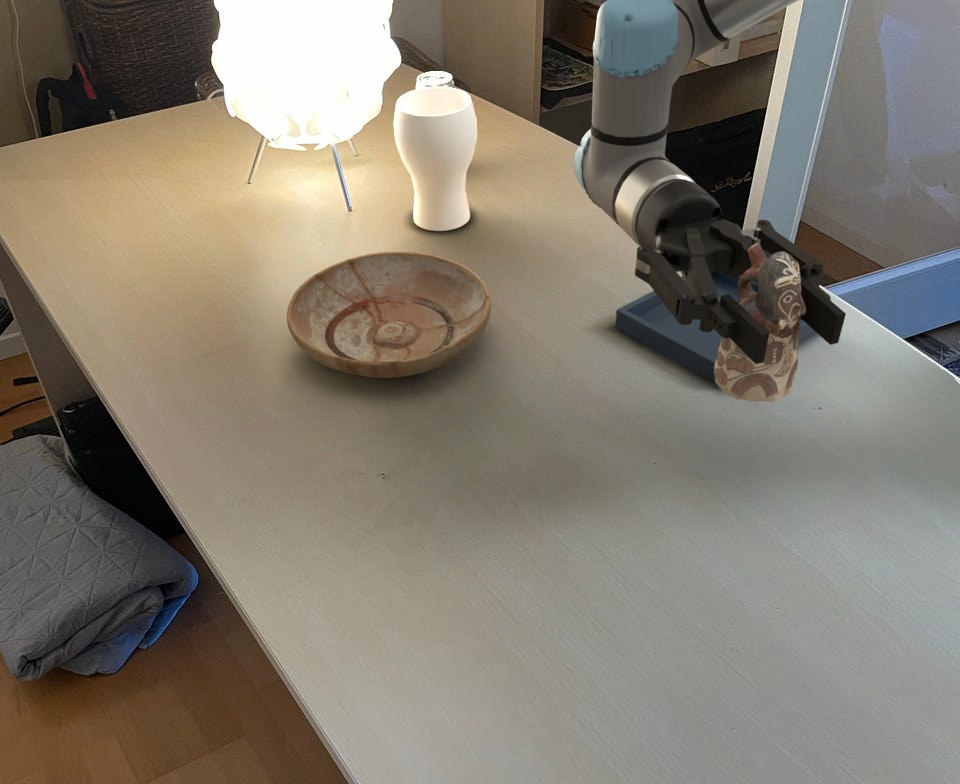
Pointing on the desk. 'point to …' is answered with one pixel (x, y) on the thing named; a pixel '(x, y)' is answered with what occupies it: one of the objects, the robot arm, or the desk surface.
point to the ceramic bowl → (389, 313)
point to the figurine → (779, 316)
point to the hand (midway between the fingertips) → (800, 338)
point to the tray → (682, 328)
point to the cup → (437, 152)
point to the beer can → (434, 80)
